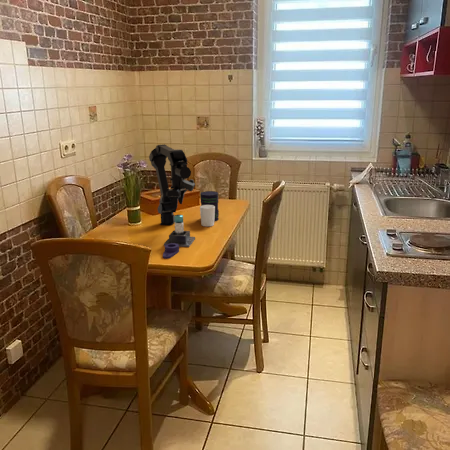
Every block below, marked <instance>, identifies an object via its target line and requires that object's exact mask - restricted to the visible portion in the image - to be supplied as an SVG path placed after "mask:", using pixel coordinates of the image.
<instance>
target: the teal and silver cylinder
mask: <svg viewBox="0 0 450 450" xmlns="http://www.w3.org/2000/svg"><path fill="white" fill-rule="evenodd" d="M174 217H175V222H174V230H175V235H184V231H185V230H184V229H185V228H184V227H185V226H184V215H183V214H176V215H175V214H174Z"/></svg>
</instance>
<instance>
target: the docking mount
mask: <svg viewBox="0 0 450 450" xmlns="http://www.w3.org/2000/svg"><path fill="white" fill-rule="evenodd" d="M190 233H191V230H184V235H175V229H173V230H172V232H171V233H170V234H169V235H168V238H167V240H166V241H165V242H164V243H163V246H164V247H165V245H166V244H169V243H176V244H178V245H179V248H180V247H182V248H190V246H192V244H193V242H194V241H195V240H196V237H195V236H191V234H190Z"/></svg>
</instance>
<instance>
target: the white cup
mask: <svg viewBox="0 0 450 450" xmlns="http://www.w3.org/2000/svg"><path fill="white" fill-rule="evenodd" d="M199 212H200V215H199V216H200V223H201V226H203V227H213V226H214V225H215V221H214V219H215V206H214V205H202V206H201V205H200V206H199Z"/></svg>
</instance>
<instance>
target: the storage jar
mask: <svg viewBox="0 0 450 450" xmlns="http://www.w3.org/2000/svg"><path fill="white" fill-rule="evenodd" d="M202 205H214V206H215V219H214V222H217V221H219V215H220V214H219V212H220V211H219V192H218V191H212V190H207V191H205V190H204V191H201V192H200V206H202Z"/></svg>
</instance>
